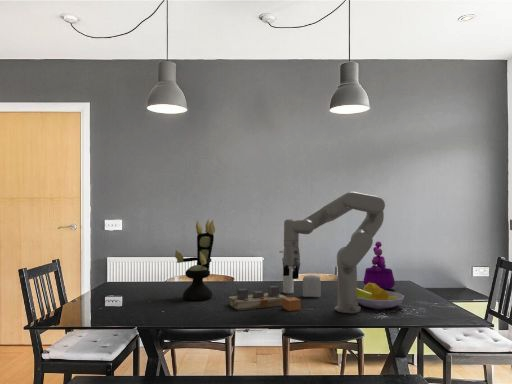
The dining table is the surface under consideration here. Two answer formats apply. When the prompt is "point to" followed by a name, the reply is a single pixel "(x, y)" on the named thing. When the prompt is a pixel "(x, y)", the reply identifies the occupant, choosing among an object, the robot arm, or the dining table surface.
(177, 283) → the dining table surface
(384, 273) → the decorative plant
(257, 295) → the block
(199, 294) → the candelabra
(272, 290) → the block
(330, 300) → the dining table surface
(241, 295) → the block
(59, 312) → the dining table surface
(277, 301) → the breaker board
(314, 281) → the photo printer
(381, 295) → the fruit bowl
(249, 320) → the dining table surface
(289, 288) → the water bottle
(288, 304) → the cap
